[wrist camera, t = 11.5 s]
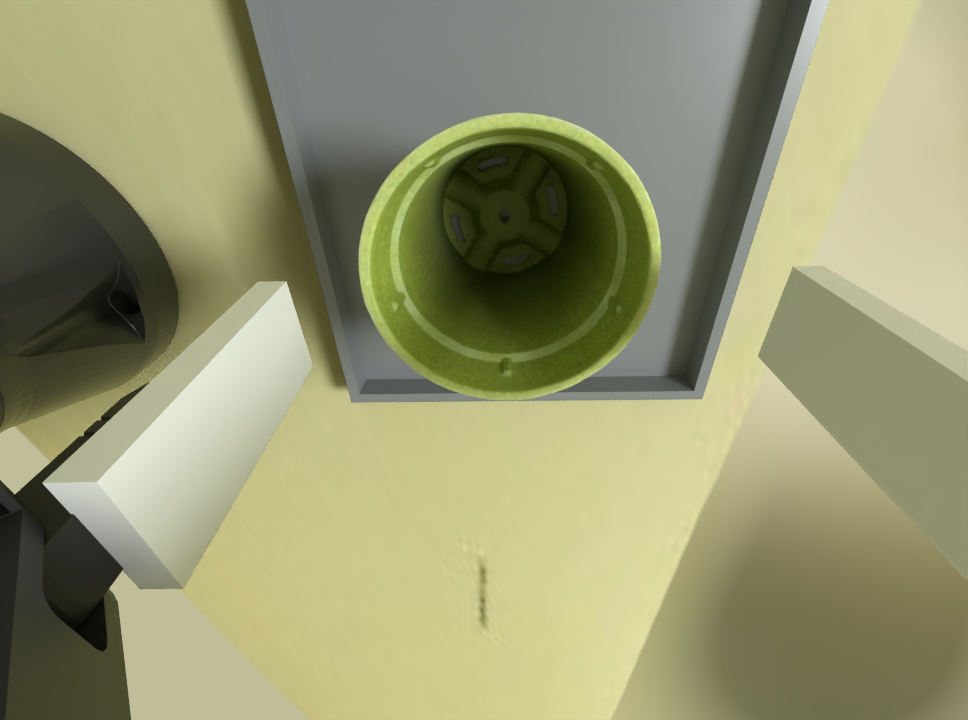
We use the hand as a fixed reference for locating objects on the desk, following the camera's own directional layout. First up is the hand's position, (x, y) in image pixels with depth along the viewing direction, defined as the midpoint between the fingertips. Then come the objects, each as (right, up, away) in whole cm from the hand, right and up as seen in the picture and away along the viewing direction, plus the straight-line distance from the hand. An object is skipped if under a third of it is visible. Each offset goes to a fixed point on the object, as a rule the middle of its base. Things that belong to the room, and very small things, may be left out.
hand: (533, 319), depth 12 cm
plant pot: (0, +6, +9) cm, 11 cm away
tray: (+1, +6, +10) cm, 11 cm away
